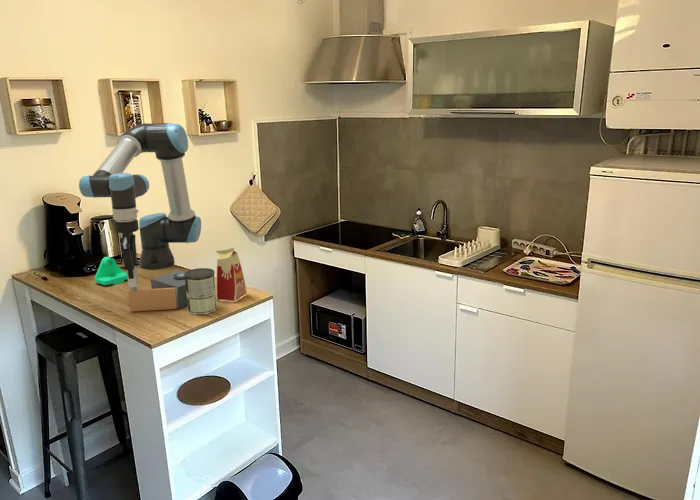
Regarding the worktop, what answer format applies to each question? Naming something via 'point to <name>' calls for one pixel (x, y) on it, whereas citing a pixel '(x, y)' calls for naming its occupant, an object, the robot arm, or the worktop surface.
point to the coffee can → (200, 290)
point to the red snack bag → (229, 276)
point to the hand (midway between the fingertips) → (133, 285)
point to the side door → (153, 299)
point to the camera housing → (172, 285)
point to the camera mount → (109, 272)
